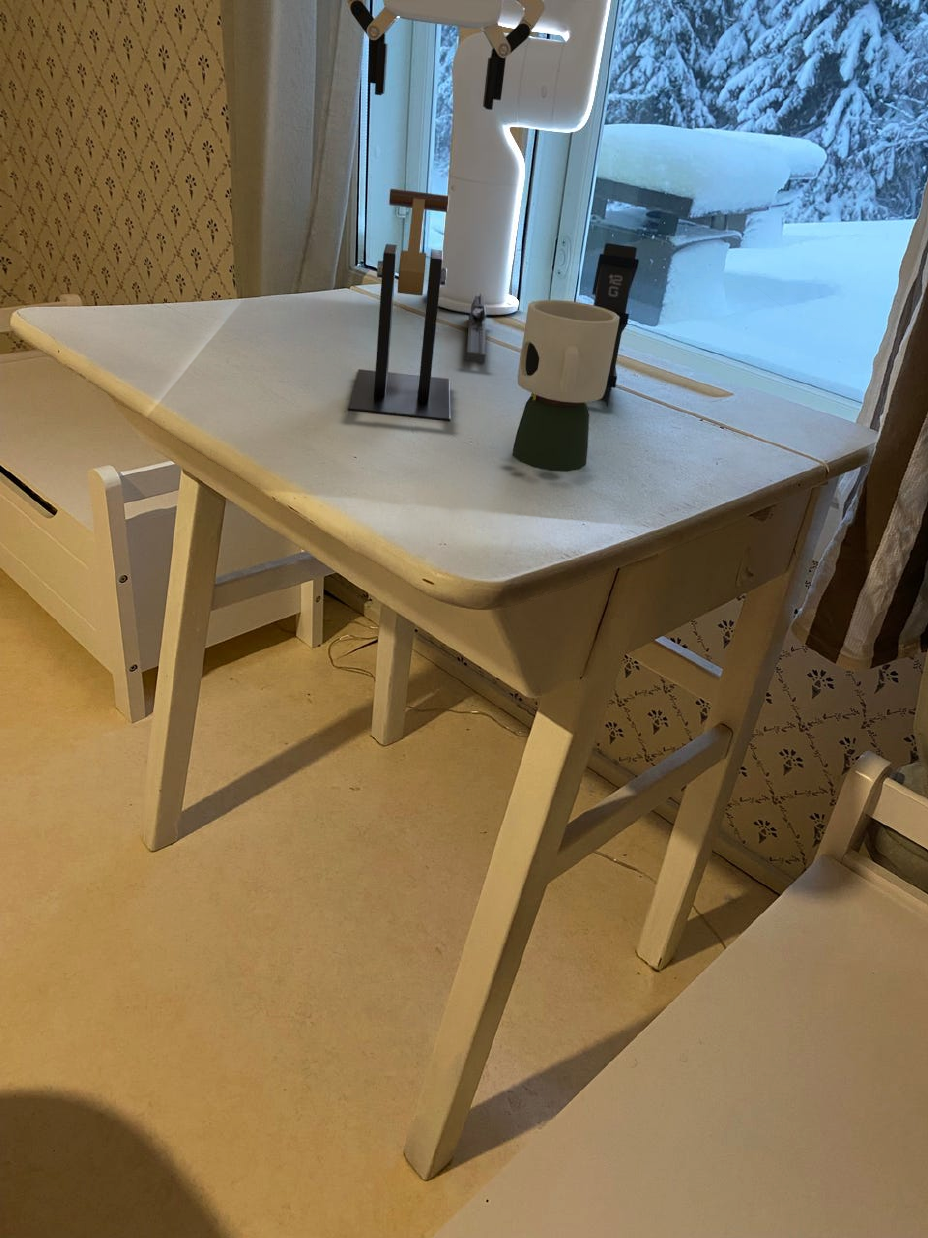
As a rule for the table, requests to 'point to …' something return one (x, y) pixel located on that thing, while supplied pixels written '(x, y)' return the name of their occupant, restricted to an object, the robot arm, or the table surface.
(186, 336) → the table surface
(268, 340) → the table surface
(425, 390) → the stand
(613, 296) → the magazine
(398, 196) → the switch lever
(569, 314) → the character mug
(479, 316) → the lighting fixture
